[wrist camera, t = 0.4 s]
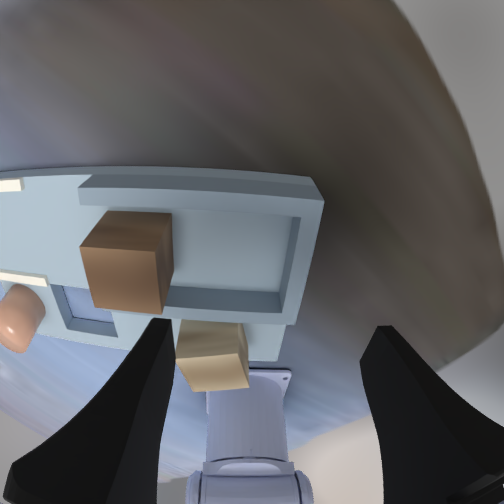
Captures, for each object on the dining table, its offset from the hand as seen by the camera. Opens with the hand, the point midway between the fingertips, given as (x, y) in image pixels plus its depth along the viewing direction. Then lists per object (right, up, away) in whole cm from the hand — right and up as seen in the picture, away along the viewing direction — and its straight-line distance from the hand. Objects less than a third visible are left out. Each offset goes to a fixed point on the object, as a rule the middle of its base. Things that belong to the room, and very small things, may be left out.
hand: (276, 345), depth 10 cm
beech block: (-3, -3, +12) cm, 13 cm away
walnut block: (-8, +4, +8) cm, 11 cm away
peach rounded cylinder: (-20, -1, +10) cm, 22 cm away
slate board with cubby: (-10, +3, +10) cm, 15 cm away
